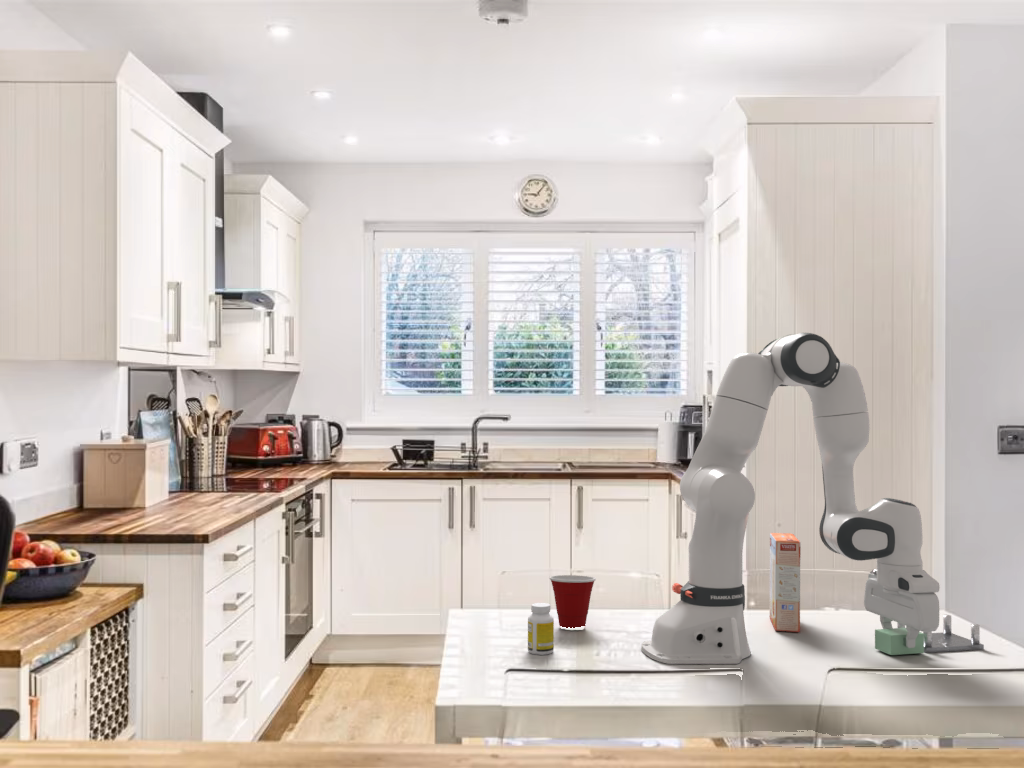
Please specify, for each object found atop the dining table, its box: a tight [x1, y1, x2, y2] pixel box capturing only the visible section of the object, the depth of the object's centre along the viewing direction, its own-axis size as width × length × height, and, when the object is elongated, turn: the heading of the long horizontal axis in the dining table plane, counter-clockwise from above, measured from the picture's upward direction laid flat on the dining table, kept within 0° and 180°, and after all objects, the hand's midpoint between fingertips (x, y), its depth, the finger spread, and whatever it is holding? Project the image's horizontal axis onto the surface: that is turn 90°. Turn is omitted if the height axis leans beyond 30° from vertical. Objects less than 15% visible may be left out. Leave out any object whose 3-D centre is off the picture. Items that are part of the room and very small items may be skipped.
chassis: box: [896, 614, 985, 654], centre depth 190 cm, size 14×11×5 cm
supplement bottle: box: [527, 602, 555, 656], centre depth 183 cm, size 5×5×10 cm
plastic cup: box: [548, 574, 597, 628], centre depth 203 cm, size 11×11×12 cm
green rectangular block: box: [874, 627, 925, 656], centre depth 184 cm, size 8×5×4 cm, turn 105°
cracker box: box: [769, 532, 802, 633], centre depth 207 cm, size 14×6×21 cm, turn 168°
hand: (899, 642), depth 184 cm, fingers closed on green rectangular block, 5 cm apart
